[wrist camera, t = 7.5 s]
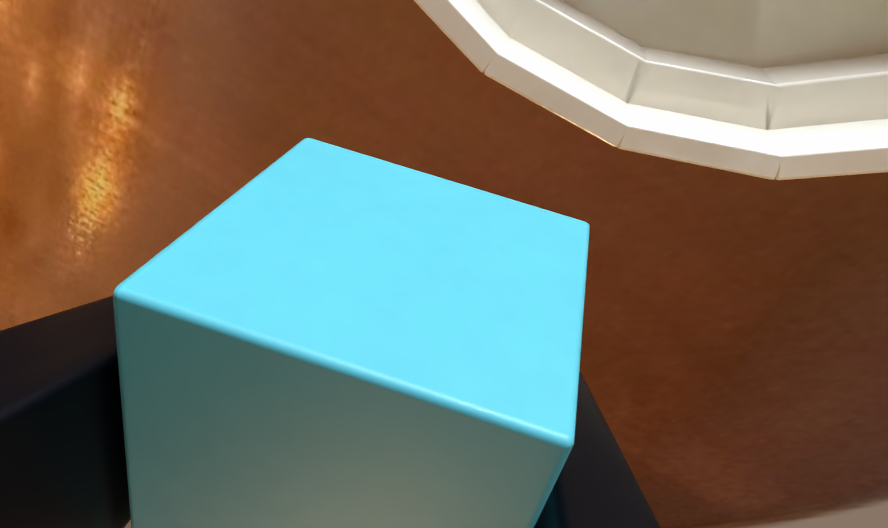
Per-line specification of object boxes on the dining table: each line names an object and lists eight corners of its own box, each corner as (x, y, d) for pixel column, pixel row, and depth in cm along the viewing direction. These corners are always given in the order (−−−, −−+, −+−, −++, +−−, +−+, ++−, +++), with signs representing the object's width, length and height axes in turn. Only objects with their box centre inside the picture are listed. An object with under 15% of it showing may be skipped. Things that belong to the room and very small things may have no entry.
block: (591, 221, 8) (577, 445, 5) (509, 429, 10) (459, 685, 7) (305, 133, 9) (105, 288, 5) (282, 354, 11) (130, 563, 7)
